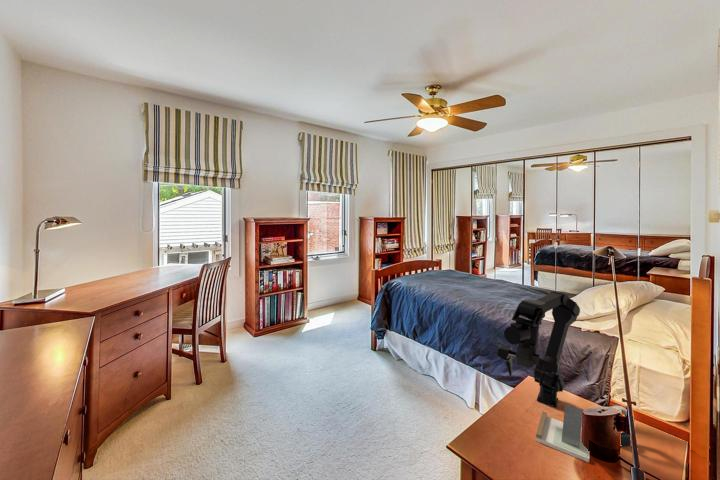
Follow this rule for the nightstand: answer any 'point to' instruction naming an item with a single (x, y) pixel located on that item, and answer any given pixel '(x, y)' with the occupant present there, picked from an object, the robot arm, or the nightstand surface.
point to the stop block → (572, 425)
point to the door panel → (558, 438)
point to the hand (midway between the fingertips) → (525, 380)
